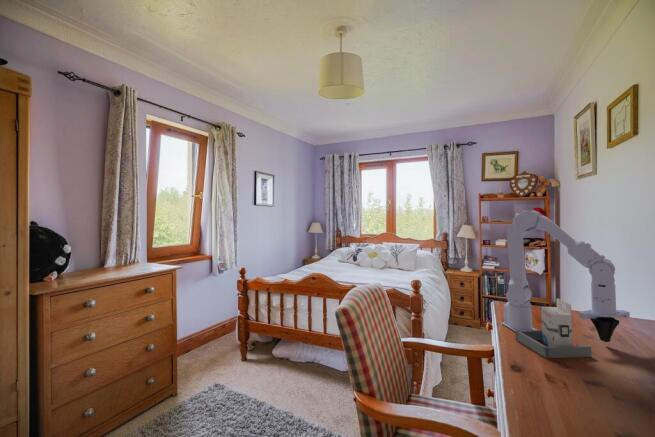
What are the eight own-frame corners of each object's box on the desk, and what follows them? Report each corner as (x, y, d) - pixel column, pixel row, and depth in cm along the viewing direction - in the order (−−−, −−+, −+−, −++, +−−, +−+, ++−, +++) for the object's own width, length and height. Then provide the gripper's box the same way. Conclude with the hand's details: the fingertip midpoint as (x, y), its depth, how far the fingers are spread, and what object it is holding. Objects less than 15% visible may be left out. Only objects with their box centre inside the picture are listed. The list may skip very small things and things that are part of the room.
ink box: (541, 341, 101) (539, 297, 101) (558, 342, 100) (556, 297, 100) (555, 352, 92) (553, 304, 92) (573, 353, 91) (571, 304, 91)
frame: (515, 339, 103) (515, 330, 103) (555, 338, 103) (555, 329, 103) (545, 358, 89) (545, 347, 89) (591, 356, 89) (591, 346, 89)
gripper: (591, 301, 92) (593, 346, 92) (639, 300, 92) (640, 345, 92) (572, 296, 99) (574, 337, 99) (616, 294, 99) (618, 336, 99)
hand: (604, 340), depth 96 cm, fingers closed
